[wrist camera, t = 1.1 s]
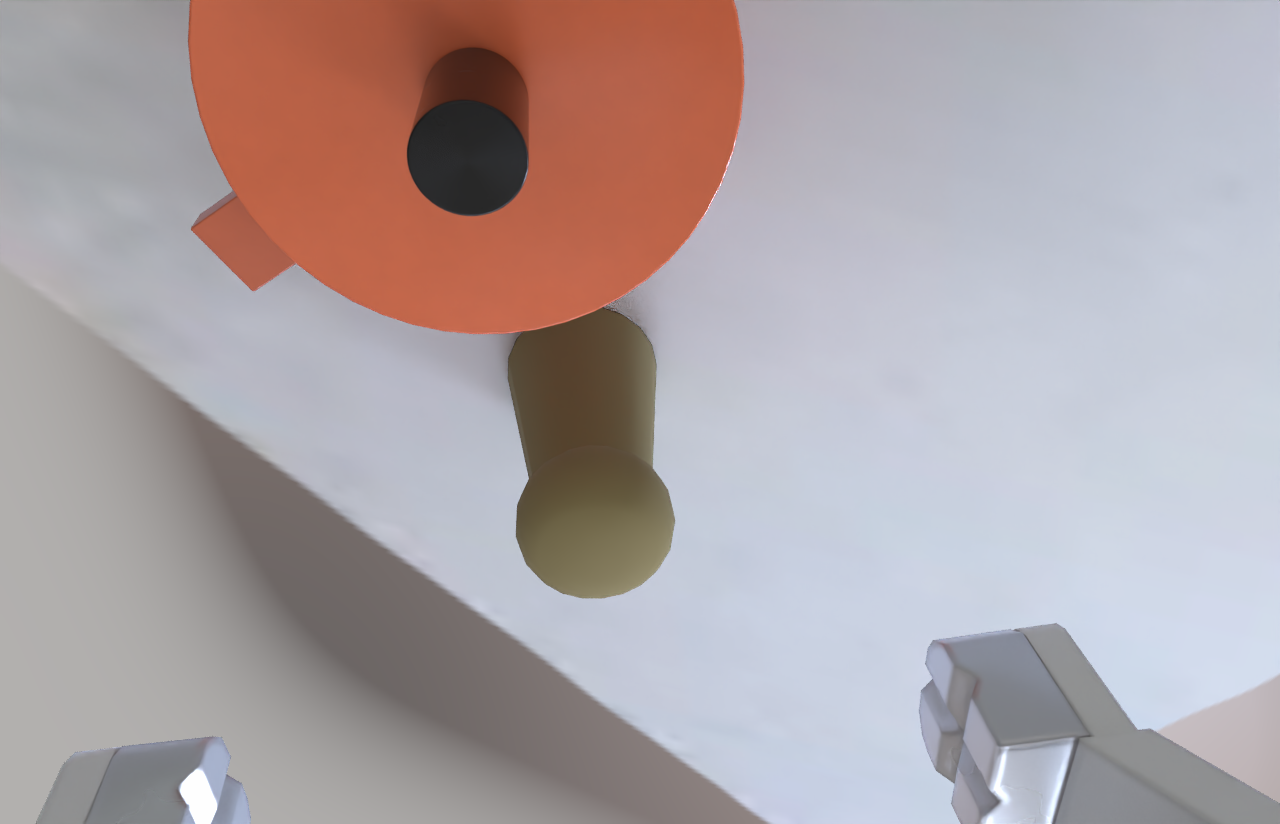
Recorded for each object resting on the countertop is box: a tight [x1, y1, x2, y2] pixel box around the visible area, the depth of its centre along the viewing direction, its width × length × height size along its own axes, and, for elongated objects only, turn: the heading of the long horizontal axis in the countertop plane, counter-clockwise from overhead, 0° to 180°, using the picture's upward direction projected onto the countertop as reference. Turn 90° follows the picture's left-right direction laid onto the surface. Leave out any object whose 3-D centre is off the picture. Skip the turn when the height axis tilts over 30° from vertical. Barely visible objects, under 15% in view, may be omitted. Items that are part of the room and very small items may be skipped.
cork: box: [508, 308, 675, 598], centre depth 35 cm, size 6×6×11 cm
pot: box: [191, 191, 296, 291], centre depth 28 cm, size 13×18×8 cm
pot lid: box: [188, 0, 744, 334], centre depth 23 cm, size 14×14×5 cm
